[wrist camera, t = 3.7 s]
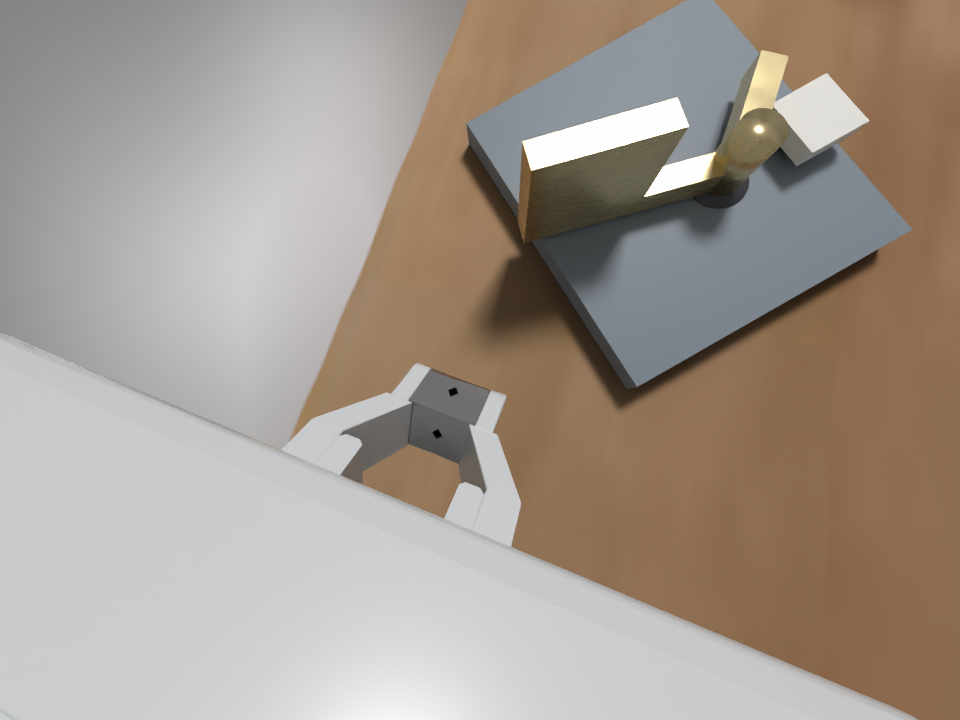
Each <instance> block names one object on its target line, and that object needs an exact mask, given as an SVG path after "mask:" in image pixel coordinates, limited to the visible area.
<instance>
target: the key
mask: <svg viewBox="0 0 960 720" xmlns="http://www.w3.org/2000/svg"><path fill="white" fill-rule="evenodd" d="M788 57H789V56H786V55H781V54H777V53H772V52H768V51H764V50H761V52H760V53H759V54H758V56H757V57H756V59H755V60H754V62H753V63H752V64H751V66H750V67H749V69H748V70H747V72H746V73H745V74H744V76H743V77H742V80H741V83H740V86H739V90H738V93H737V96H736V99H735V102H734V105H733V108H732V112H731V115H730V118H729V121H728V124H727V127H726V130H725V134H724V137H723V140H722V143H721V144H720V146H719V147H718V148H717V150H716V151H715V152H714V153H710V154H707V155H703V156H699V157H696V158H692V159H689V160H685V161H681V162H678V163H674V164H671V165H667V166H664V165H665V164H666V162H667V160H668V159H669V157H670V156H671V154H672V153H673V151H674V149H675V148H676V146H677V145H678V143H679V142H680V140H681V138H682V137H683V135H684V134H685V132H686V131H687V129H688V127H689V125H688V123H687V120H686V118H685V115H684V113H683V110H682V108H681V105H680V103H679V100H678V98H674V99H671V100H667V101H664V102H660V103H657V104H653V105H649V106H646V107H642V108H639V109H635V110H632V111H628V112H625V113H621V114H618V115H614V116H611V117H607V118H604V119H600V120H597V121H593V122H589V123H586V124H582V125H579V126H575V127H572V128H568V129H565V130H561V131H558V132H554V133H551V134H547V135H544V136H540V137H537V138H533V139H529V140H526V141H522V156H521V173H520V189H519V206H518V225H519V229H520V232H521V235H522V239H523V242H524V243H527V242H531V241H534V240H538V239H542V238H545V237H549V236H553V235H556V234H560V233H564V232H567V231H571V230H575V229H578V228H582V227H586V226H589V225H593V224H597V223H600V222H604V221H607V220H611V219H615V218H618V217H622V216H626V215H629V214H633V213H637V212H640V211H644V210H648V209H651V208H655V207H659V206H662V205H666V204H670V203H673V202H677V201H681V200H684V199H688V198H691V197H695V196H699V195H702V194H706V193H709V194H712V195H715V196H726V195H729V194H731V193H733V192H734V191H735V190H736V189H737V188H738V187H739V186H740V185H741V184H742V183H743V182H744V181H745V180H746V179H747V178H748V177H749V176H750V175H752V174H753V173H754V172H755V171H756V170H757V169H758V168H759V167H760V166H761V165H762V164H763V163H764V162H765V161H766V160H767V159H768V158H769V157H770V156H771V155H772V154H773V153H774V152H775V151H776V150H777V149H778V148H779V147H780V146H781V145H782V144H783V143H784V142H785V141H786V139H787V137H788V134H789V126H788V123H787V121H786V119H785V118H784V117H783V116H782V115H781V114H780V113H778V112H777V111H775V110H773V106H774V103H775V100H776V96H777V93H778V90H779V87H780V83H781V80H782V77H783V73H784V70H785V67H786V63H787V60H788Z"/></svg>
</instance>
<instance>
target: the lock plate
mask: <svg viewBox="0 0 960 720" xmlns="http://www.w3.org/2000/svg"><path fill="white" fill-rule="evenodd" d="M758 54H759V52H758V51H757V50H756V49H755V48H754V47H753V46H752V44H751V43H750V42H749V41H748V40H747V39H746V37H745V36H744V35H743V34H742V33H741V32H740V31H739V29H738V28H737V27H736V26H735V25H734V24H733V23H732V21H731V20H730V19H729V18H728V17H727V16H726V14H725V13H724V12H723V11H722V10H721V9H720V8H719V6H718V5H717V4H716V3H715V2H714V1H713V0H686V1H684V2H682V3H681V4H679V5H677V6H675V7H673V8H672V9H670V10H668V11H666V12H664V13H663V14H661V15H659V16H657V17H655V18H654V19H652V20H650V21H648V22H647V23H645V24H643V25H641V26H639V27H638V28H636V29H634V30H632V31H630V32H629V33H627V34H625V35H623V36H621V37H620V38H618V39H616V40H614V41H612V42H611V43H609V44H607V45H605V46H604V47H602V48H600V49H598V50H596V51H595V52H593V53H591V54H589V55H587V56H586V57H584V58H582V59H580V60H578V61H577V62H575V63H573V64H571V65H570V66H568V67H566V68H564V69H562V70H561V71H559V72H557V73H555V74H553V75H552V76H550V77H548V78H546V79H544V80H543V81H541V82H539V83H537V84H536V85H534V86H532V87H530V88H528V89H527V90H525V91H523V92H521V93H519V94H518V95H516V96H514V97H512V98H510V99H509V100H507V101H505V102H503V103H502V104H500V105H498V106H496V107H494V108H493V109H491V110H489V111H487V112H485V113H484V114H482V115H480V116H478V117H476V118H475V119H473V120H471V121H469V122H468V123H466V124H467V131H468V139H469V144H470V146H471V147H472V149H473V151H474V152H475V154H476V155H477V157H478V158H479V160H480V161H481V163H482V165H483V166H484V168H485V169H486V171H487V172H488V174H489V175H490V177H491V179H492V180H493V182H494V183H495V185H496V186H497V188H498V190H499V191H500V193H501V194H502V196H503V197H504V199H505V200H506V202H507V204H508V205H509V207H510V208H511V210H512V211H513V213H514V215H515V216H516V218H517V219H518V206H519V189H520V173H521V156H522V141H526V140H529V139H533V138H537V137H540V136H544V135H547V134H551V133H554V132H558V131H561V130H565V129H568V128H572V127H575V126H579V125H582V124H586V123H589V122H593V121H597V120H600V119H604V118H607V117H611V116H614V115H618V114H621V113H625V112H628V111H632V110H635V109H639V108H642V107H646V106H649V105H653V104H657V103H660V102H664V101H667V100H671V99H674V98H678V100H679V103H680V105H681V108H682V110H683V113H684V115H685V118H686V120H687V123H688V125H689V127H688V129H687V131H686V132H685V134H684V135H683V137H682V138H681V140H680V142H679V143H678V145H677V146H676V148H675V149H674V151H673V153H672V154H671V156H670V157H669V159H668V160H667V162H666V164H665V165H664V166H667V165H671V164H674V163H678V162H681V161H685V160H689V159H692V158H696V157H699V156H703V155H707V154H710V153H714V152H715V151H716V150H717V148H718V147H719V146H720V144H721V143H722V140H723V137H724V134H725V130H726V127H727V124H728V121H729V118H730V115H731V112H732V108H733V105H734V102H735V99H736V96H737V93H738V90H739V86H740V83H741V80H742V77H743V76H744V74H745V73H746V72H747V70H748V69H749V67H750V66H751V64H752V63H753V62H754V60H755V59H756V57H757V56H758ZM790 93H792V90H791V89H790V88H789V87H788V86H787V85H786V84H785V82H784V81H783V80H781V83H780V87H779V90H778V93H777V96H776V100H775V102H776V101H778V100H779V99H781V98H783V97H785V96H787V95H788V94H790ZM911 230H912V229H911V227H910V226H909V225H908V224H907V223H906V222H905V221H904V219H903V218H902V217H901V216H900V215H899V214H898V212H897V211H896V210H895V209H894V208H893V207H892V206H891V204H890V203H889V202H888V201H887V200H886V199H885V198H884V196H883V195H882V194H881V193H880V192H879V191H878V189H877V188H876V187H875V186H874V185H873V184H872V183H871V181H870V180H869V179H868V178H867V177H866V176H865V174H864V173H863V172H862V171H861V170H860V169H859V168H858V166H857V165H856V164H855V163H854V162H853V161H852V160H851V158H850V157H849V156H848V155H847V154H846V153H845V151H844V150H843V149H842V148H841V147H840V146H839V145H838V144H836V145H834V146H832V147H830V148H829V149H827V150H825V151H823V152H822V153H820V154H818V155H816V156H814V157H813V158H811V159H809V160H807V161H805V162H804V163H802V164H800V165H798V166H796V165H795V164H794V163H793V161H792V160H791V159H790V158H789V157H788V155H786V154H784V153H782V152H780V151H779V150H778V149H777V150H776V151H775V152H774V153H773V154H772V155H771V156H770V157H769V158H768V159H767V160H766V161H765V162H764V163H763V164H762V165H761V166H760V167H759V168H758V169H757V170H756V171H755V172H754V173H753V174H752V175H750V176H749V177H748V178H747V179H746V180H745V181H744V182H743V183H742V184H741V185H740V186H739V187H738V188H737V189H736V190H735V191H734V192H733V193H731V194H729V195H726V196H715V195H712V194H709V193H706V194H702V195H699V196H695V197H691V198H688V199H684V200H681V201H677V202H673V203H670V204H666V205H662V206H659V207H655V208H651V209H648V210H644V211H640V212H637V213H633V214H629V215H626V216H622V217H618V218H615V219H611V220H607V221H604V222H600V223H597V224H593V225H589V226H586V227H582V228H578V229H575V230H571V231H567V232H564V233H560V234H556V235H553V236H549V237H545V238H542V239H538V240H534V241H532V243H533V244H534V246H535V247H536V249H537V250H538V252H539V254H540V255H541V257H542V258H543V260H544V261H545V263H546V265H547V266H548V268H549V269H550V271H551V272H552V274H553V275H554V277H555V279H556V280H557V282H558V283H559V285H560V286H561V288H562V289H563V291H564V293H565V294H566V296H567V297H568V299H569V300H570V302H571V304H572V305H573V307H574V308H575V310H576V311H577V313H578V314H579V316H580V318H581V319H582V321H583V322H584V324H585V325H586V327H587V329H588V330H589V332H590V333H591V335H592V336H593V338H594V339H595V341H596V343H597V344H598V346H599V347H600V349H601V350H602V352H603V354H604V355H605V357H606V358H607V360H608V361H609V363H610V364H611V366H612V368H613V369H614V371H615V372H616V374H617V375H618V377H619V379H620V380H621V382H622V383H623V385H624V386H625V388H626V389H630V388H635V387H638V386H640V385H642V384H643V383H645V382H647V381H649V380H650V379H652V378H654V377H656V376H657V375H659V374H661V373H663V372H664V371H666V370H668V369H670V368H671V367H673V366H675V365H677V364H678V363H680V362H682V361H684V360H685V359H687V358H689V357H691V356H692V355H694V354H696V353H697V352H699V351H701V350H703V349H704V348H706V347H708V346H710V345H711V344H713V343H715V342H717V341H718V340H720V339H722V338H724V337H725V336H727V335H729V334H731V333H732V332H734V331H736V330H738V329H739V328H741V327H743V326H745V325H746V324H748V323H750V322H752V321H753V320H755V319H757V318H759V317H760V316H762V315H764V314H766V313H767V312H769V311H771V310H773V309H774V308H776V307H778V306H780V305H781V304H783V303H785V302H787V301H788V300H790V299H792V298H794V297H795V296H797V295H799V294H801V293H802V292H804V291H806V290H808V289H809V288H811V287H813V286H815V285H816V284H818V283H820V282H822V281H823V280H825V279H827V278H829V277H830V276H832V275H834V274H835V273H837V272H839V271H841V270H842V269H844V268H846V267H848V266H849V265H851V264H853V263H855V262H856V261H858V260H860V259H862V258H863V257H865V256H867V255H869V254H870V253H872V252H874V251H876V250H877V249H879V248H881V247H883V246H884V245H886V244H888V243H890V242H891V241H893V240H895V239H897V238H898V237H900V236H902V235H904V234H905V233H907V232H909V231H911Z"/></svg>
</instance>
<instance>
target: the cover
mask: <svg viewBox="0 0 960 720" xmlns="http://www.w3.org/2000/svg"><path fill="white" fill-rule="evenodd" d="M773 110H775V111H777V112H778V113H780V114H781V115H782V116H783V117H784V118H785V119H786V121H787V123H788V126H789V134H788V137H787V139H786V141H785V142H784V143H783V144H782V145H781V146H780V147H781V148H782V149H783V151H784V152H785V153H786V154H787V155H788V157H789V158H790V159H791V160H792V161H793V163H794V164H795V165H796V166H798V165H800V164H802V163H804V162H805V161H807V160H809V159H811V158H813V157H814V156H816V155H818V154H820V153H822V152H823V151H825V150H827V149H829V148H830V147H832V146H834V145H836V144H838V143H839V142H841V141H843V140H845V139H846V138H848V137H850V136H851V135H853V134H854V133H855V132H856V131H858V130H859V129H860V128H861V127H862V126H864V125H865V124H866V123H867V122H869V120H868V119H867V118H866V116H865V115H864V114H863V113H862V112H861V111H860V110H859V109H858V108H857V106H856V105H855V104H854V103H853V102H852V101H851V100H850V99H849V98H848V96H847V95H846V94H845V93H844V92H843V91H842V90H841V89H840V88H839V86H838V85H837V84H836V83H835V82H834V81H833V80H832V79H831V78H830V76H829V75H828V74H827V73H826V74H824V75H822V76H821V77H819V78H817V79H815V80H813V81H812V82H810V83H808V84H806V85H805V86H803V87H801V88H799V89H797V90H796V91H794V92H792V93H790V94H788V95H787V96H785V97H783V98H781V99H779V100H778V101H776V102H775V103H774V106H773Z"/></svg>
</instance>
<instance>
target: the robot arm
mask: <svg viewBox="0 0 960 720" xmlns="http://www.w3.org/2000/svg"><path fill="white" fill-rule="evenodd" d="M506 397H507V396H506V395H504V394H501V393H498V392H495V391H492V390H489V389H486V388H483V387H480V386H478V385H475V384H472V383H469V382H466V381H464V380H461V379H458V378H456V377H453V376H451V375H448V374H445V373H443V372H440V371H438V370H435V369H433V368H429V367H427V366H424V365H422V364H419V363H417V364H415V365H414V366H413V367H412V368H411V369H410V371H409V372H408V373H407V374H406V376H405V377H404V378H403V379H402V381H401V382H400V383H399V384H398V386H397V387H396V388H395V390H394V391H393V392H392V393H391V394H389V393H384V394H381V395H378V396H375V397H372V398H370V399H367V400H364V401H361V402H358V403H355V404H353V405H350V406H347V407H344V408H341V409H338V410H335V411H333V412H330V413H327V414H324V415H321V416H318V417H316V418H313V419H312V420H311V421H310V422H309V423H308V424H307V425H306V426H305V427H304V428H303V429H302V430H301V431H300V432H299V433H298V434H297V435H296V436H295V437H294V438H293V439H292V440H291V441H290V442H289V443H288V444H287V445H286V446H285V447H284V448H283V449H282V450H279V449H277V448H275V447H272V446H270V445H267V444H265V443H263V442H260V441H258V440H256V439H253V438H251V437H248V436H246V435H244V434H241V433H239V432H237V431H234V430H232V429H229V428H227V427H225V426H222V425H220V424H217V423H215V422H213V421H210V420H208V419H206V418H203V417H201V416H198V415H196V414H194V413H191V412H189V411H187V410H184V409H182V408H179V407H177V406H175V405H172V404H170V403H168V402H165V401H163V400H160V399H158V398H156V397H153V396H151V395H149V394H146V393H144V392H141V391H139V390H136V389H134V388H132V387H129V386H127V385H125V384H122V383H120V382H117V381H115V380H113V379H110V378H108V377H106V376H103V375H101V374H98V373H96V372H94V371H91V370H89V369H86V368H84V367H82V366H79V365H77V364H75V363H72V362H70V361H67V360H65V359H63V358H60V357H58V356H55V355H53V354H51V353H48V352H46V351H44V350H41V349H39V348H37V347H34V346H32V345H30V344H27V343H25V342H23V341H20V340H18V339H16V338H14V337H11V336H8V335H5V334H1V333H0V720H918V719H916V718H915V717H913V716H911V715H909V714H907V713H905V712H903V711H900V710H898V709H896V708H894V707H892V706H889V705H887V704H885V703H882V702H880V701H877V700H875V699H873V698H870V697H868V696H865V695H863V694H861V693H858V692H856V691H853V690H851V689H849V688H846V687H844V686H842V685H839V684H837V683H834V682H832V681H830V680H827V679H825V678H822V677H820V676H818V675H815V674H813V673H811V672H808V671H806V670H803V669H801V668H799V667H796V666H794V665H791V664H789V663H787V662H784V661H782V660H779V659H777V658H775V657H772V656H770V655H768V654H765V653H763V652H760V651H758V650H756V649H753V648H751V647H748V646H746V645H744V644H741V643H739V642H737V641H734V640H732V639H729V638H727V637H725V636H722V635H720V634H717V633H715V632H713V631H710V630H708V629H706V628H703V627H701V626H698V625H696V624H694V623H691V622H689V621H687V620H684V619H682V618H679V617H677V616H675V615H672V614H670V613H668V612H665V611H663V610H660V609H658V608H656V607H653V606H651V605H648V604H646V603H644V602H641V601H639V600H637V599H634V598H632V597H629V596H627V595H625V594H622V593H620V592H618V591H615V590H613V589H610V588H608V587H606V586H603V585H601V584H599V583H596V582H594V581H591V580H589V579H587V578H584V577H582V576H579V575H577V574H575V573H572V572H570V571H568V570H565V569H563V568H560V567H558V566H556V565H553V564H551V563H549V562H546V561H544V560H541V559H539V558H537V557H534V556H532V555H529V554H527V553H525V552H522V551H520V550H518V549H515V548H513V547H511V544H512V540H513V536H514V531H515V527H516V523H517V519H518V515H519V510H520V506H521V501H520V499H519V496H518V493H517V490H516V487H515V484H514V481H513V478H512V475H511V473H510V470H509V467H508V464H507V461H506V458H505V455H504V452H503V449H502V447H501V444H500V441H499V438H498V435H496V434H494V432H495V429H496V426H497V423H498V421H499V418H500V415H501V412H502V409H503V406H504V403H505V400H506ZM407 444H410V445H413V446H415V447H418V448H421V449H423V450H426V451H429V452H432V453H434V454H437V455H439V456H441V457H444V458H446V459H448V460H451V461H453V462H455V463H458V464H459V471H460V478H461V484H459V486H458V488H457V491H456V493H455V495H454V498H453V500H452V502H451V504H450V507H449V509H448V511H447V514H446V516H445V518H441V517H439V516H436V515H434V514H432V513H429V512H427V511H424V510H422V509H420V508H417V507H415V506H413V505H410V504H408V503H405V502H403V501H401V500H398V499H396V498H393V497H391V496H389V495H386V494H384V493H382V492H379V491H377V490H374V489H372V488H370V487H367V486H365V485H363V481H362V472H363V471H364V470H366V469H368V468H370V467H371V466H373V465H375V464H376V463H378V462H380V461H381V460H383V459H385V458H387V457H388V456H390V455H392V454H393V453H395V452H397V451H399V450H400V449H402V448H404V447H405V446H407Z"/></svg>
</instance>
